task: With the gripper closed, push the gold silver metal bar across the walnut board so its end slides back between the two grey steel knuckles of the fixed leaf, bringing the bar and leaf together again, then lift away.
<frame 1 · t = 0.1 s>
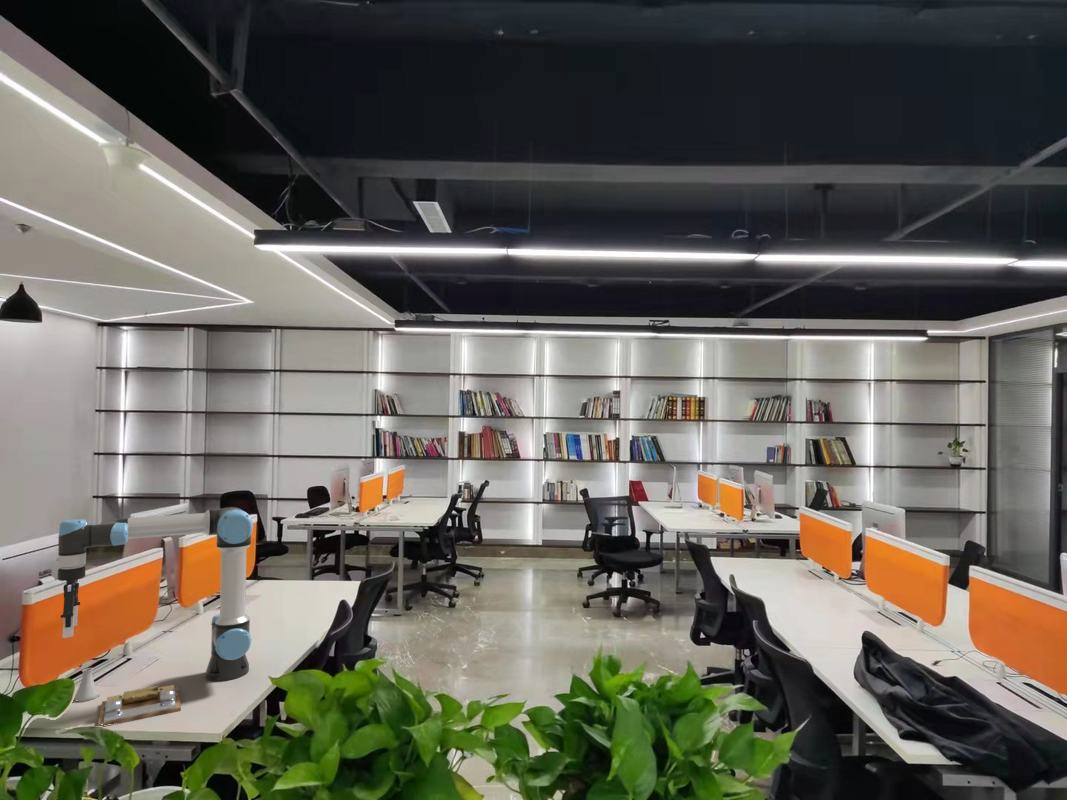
hand: (70, 631, 211), 28 cm above the table, fingers open, 13 cm apart
flask: (86, 698, 225), on the table
board: (140, 708, 217), on the table
gold silver metal bar: (141, 692, 221), point 3 cm above the table, slide at 6.0 cm
fixed leaf: (140, 711, 214), resting on board
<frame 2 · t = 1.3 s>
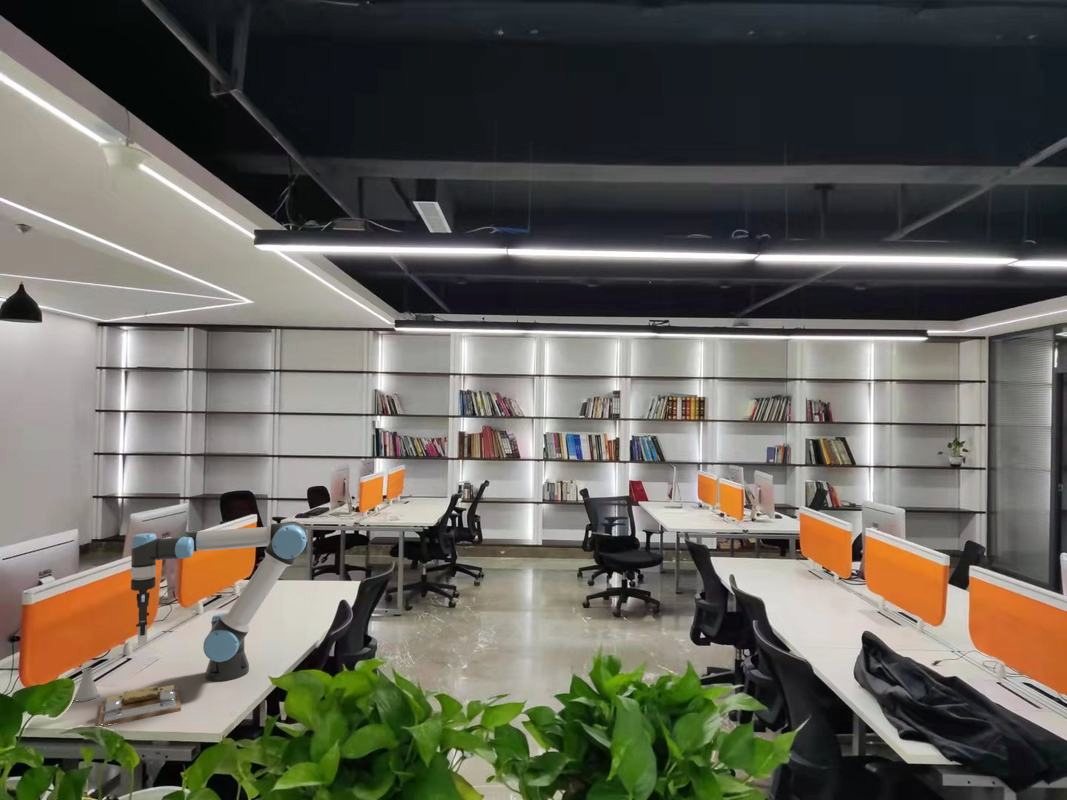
hand: (142, 639, 227), 20 cm above the table, fingers open, 11 cm apart
nothing on the table moved.
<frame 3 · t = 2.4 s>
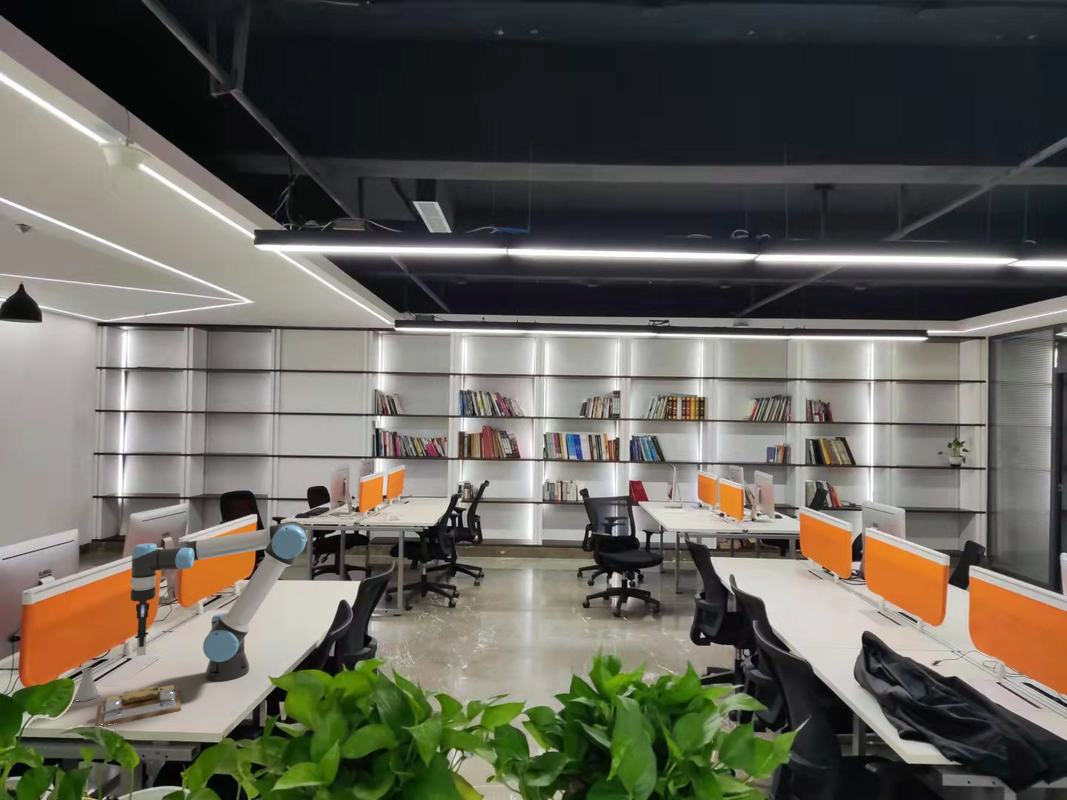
hand: (141, 654, 227), 15 cm above the table, fingers closed
nothing on the table moved.
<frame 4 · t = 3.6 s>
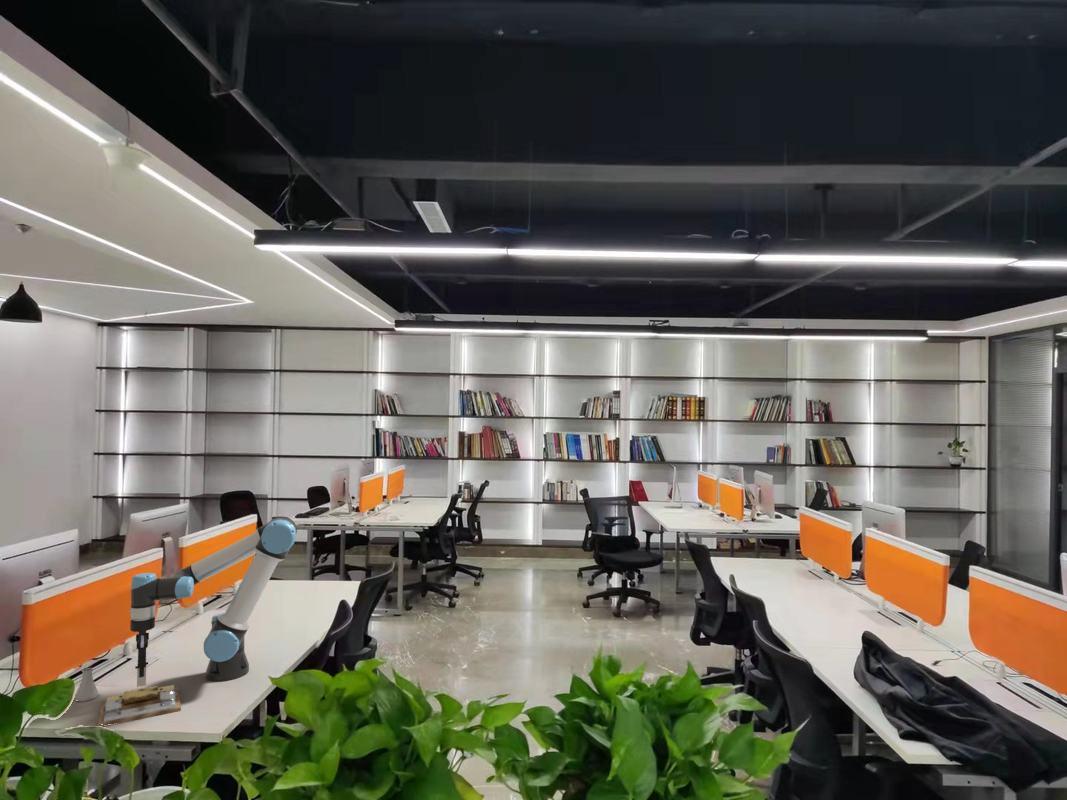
hand: (141, 685, 226), 4 cm above the table, fingers closed
nothing on the table moved.
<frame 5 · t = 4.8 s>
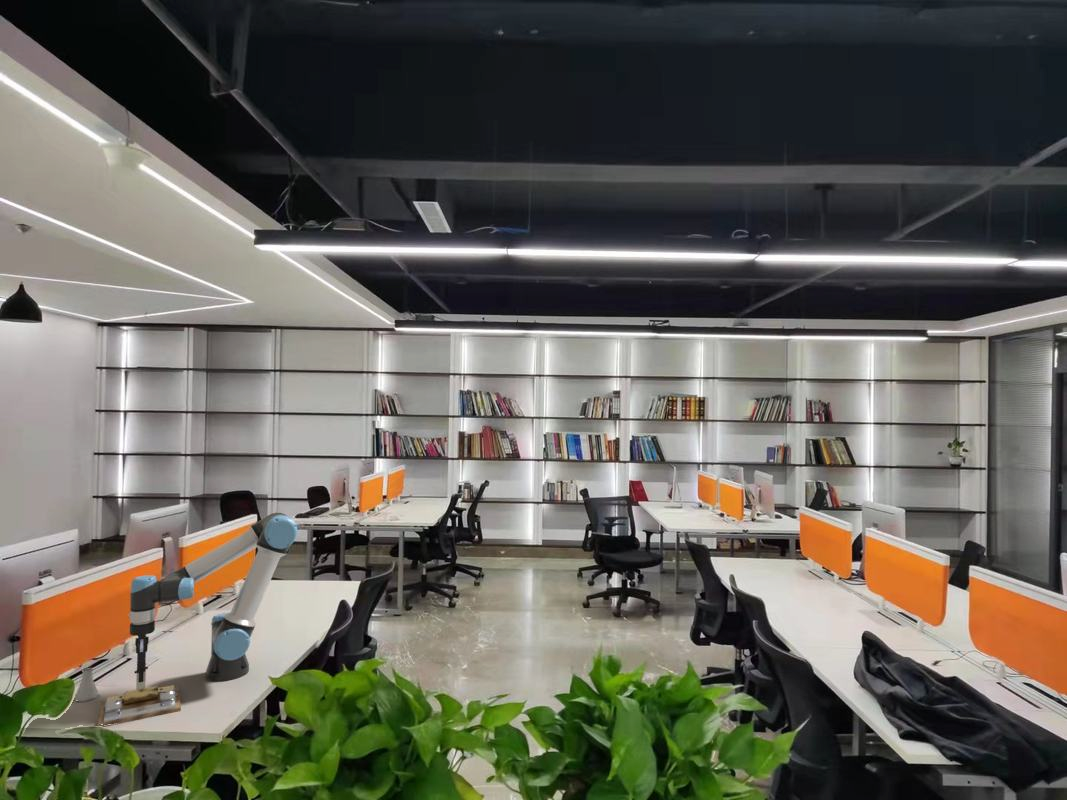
hand: (140, 690, 221), 4 cm above the table, fingers closed
gold silver metal bar: (141, 693, 221), point 3 cm above the table, slide at 5.8 cm, touching gripper
everything else where it was.
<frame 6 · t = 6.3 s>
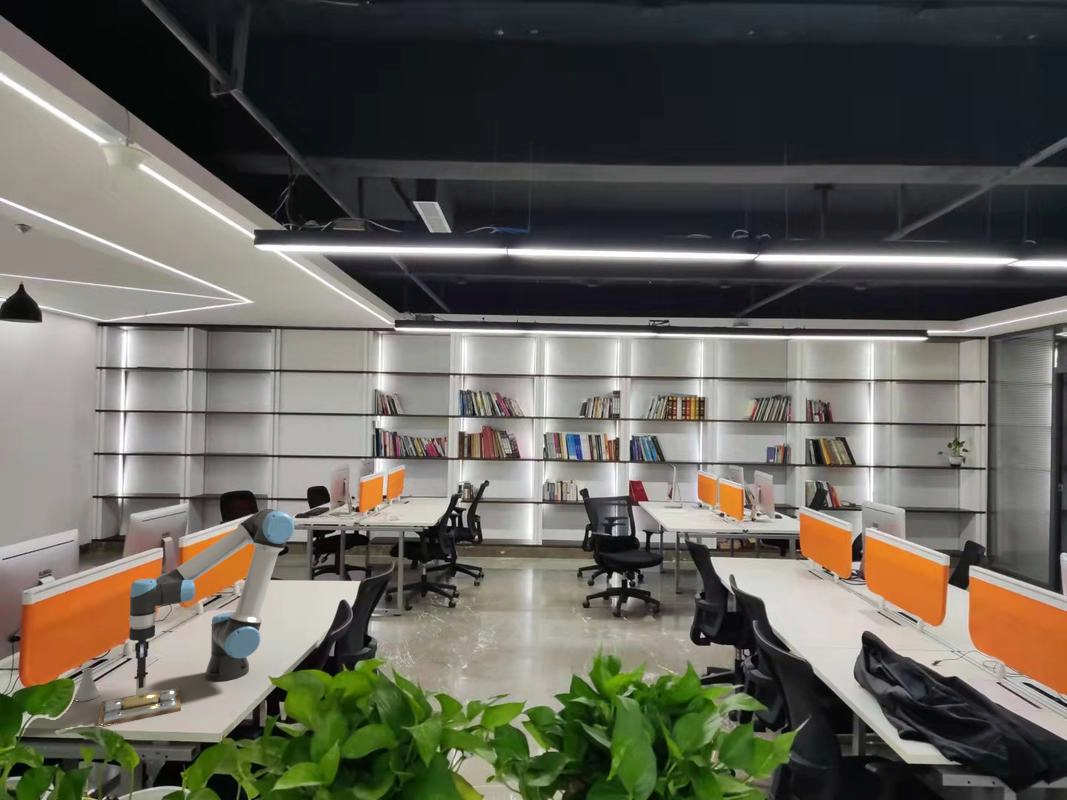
hand: (140, 696, 216), 4 cm above the table, fingers closed
gold silver metal bar: (141, 698, 216), point 3 cm above the table, slide at 0.0 cm, touching gripper
everything else where it was.
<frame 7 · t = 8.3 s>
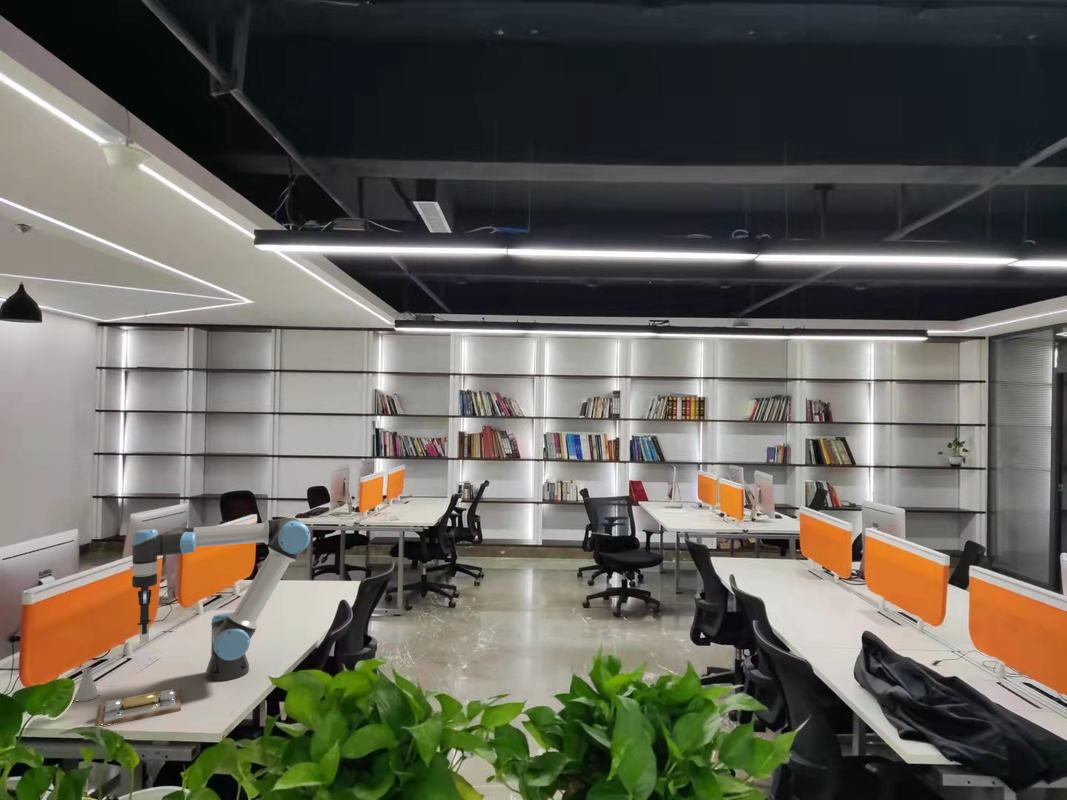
hand: (144, 642, 222), 20 cm above the table, fingers closed
gold silver metal bar: (141, 698, 216), point 3 cm above the table, slide at 0.0 cm
everything else where it was.
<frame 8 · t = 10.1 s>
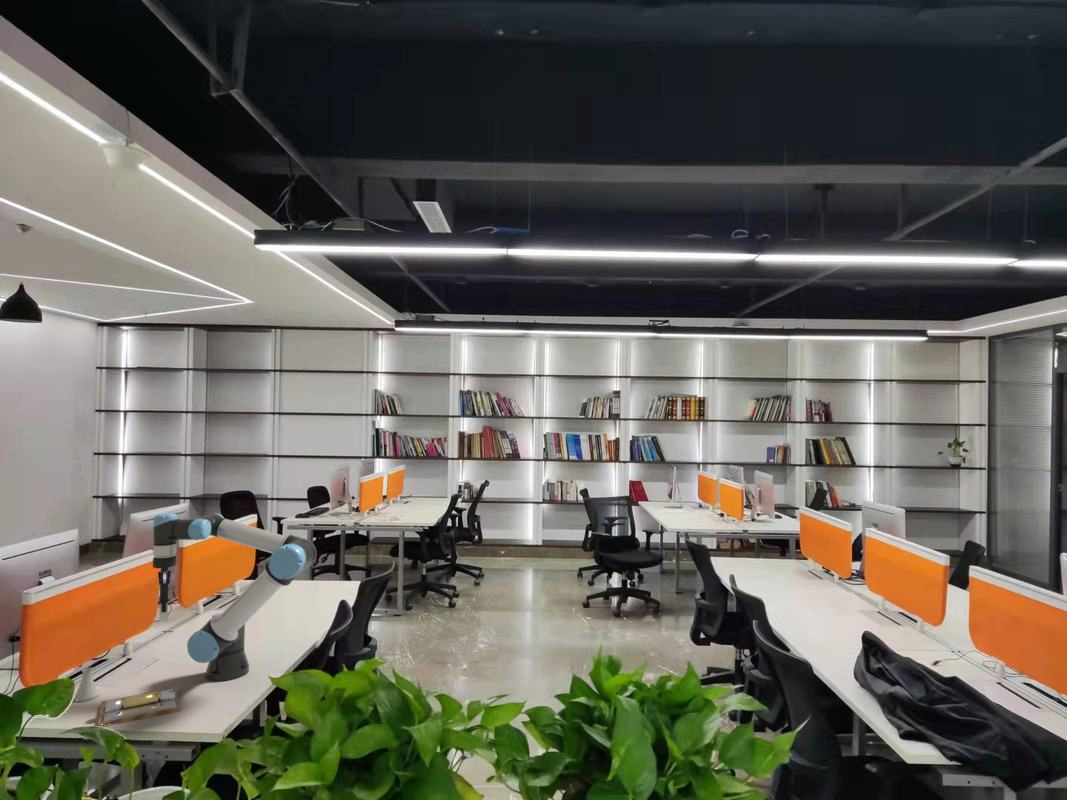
hand: (163, 620, 235), 24 cm above the table, fingers closed
nothing on the table moved.
at the end: gold silver metal bar slide at 0.0 cm; gold silver metal bar 0.1 cm from the target spot, resting on board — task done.
